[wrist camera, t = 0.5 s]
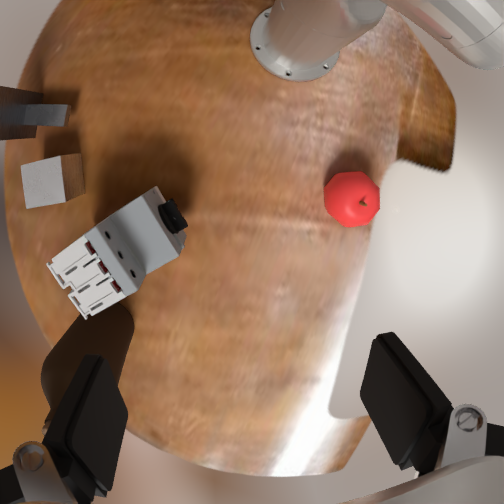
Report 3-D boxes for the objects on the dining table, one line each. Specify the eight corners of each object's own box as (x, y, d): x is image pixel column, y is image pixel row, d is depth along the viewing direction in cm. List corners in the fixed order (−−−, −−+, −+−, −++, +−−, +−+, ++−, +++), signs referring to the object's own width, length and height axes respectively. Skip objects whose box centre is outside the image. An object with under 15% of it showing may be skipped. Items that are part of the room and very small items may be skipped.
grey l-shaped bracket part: (36, 93, 32) (-21, 85, 19) (82, 93, 34) (30, 79, 21) (28, 137, 34) (-30, 142, 21) (73, 140, 36) (18, 144, 23)
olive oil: (87, 283, 43) (9, 389, 20) (145, 310, 46) (101, 436, 23) (77, 331, 46) (18, 436, 23) (129, 355, 49) (93, 472, 25)
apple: (356, 226, 45) (380, 242, 37) (309, 212, 43) (327, 227, 36) (372, 176, 42) (400, 184, 35) (326, 159, 41) (347, 163, 33)
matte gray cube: (81, 153, 37) (60, 155, 31) (85, 193, 39) (65, 202, 33) (43, 161, 36) (20, 165, 30) (47, 199, 38) (25, 208, 32)
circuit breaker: (199, 221, 42) (189, 262, 28) (120, 267, 43) (84, 320, 29) (172, 175, 39) (146, 192, 25) (94, 226, 41) (44, 265, 27)
